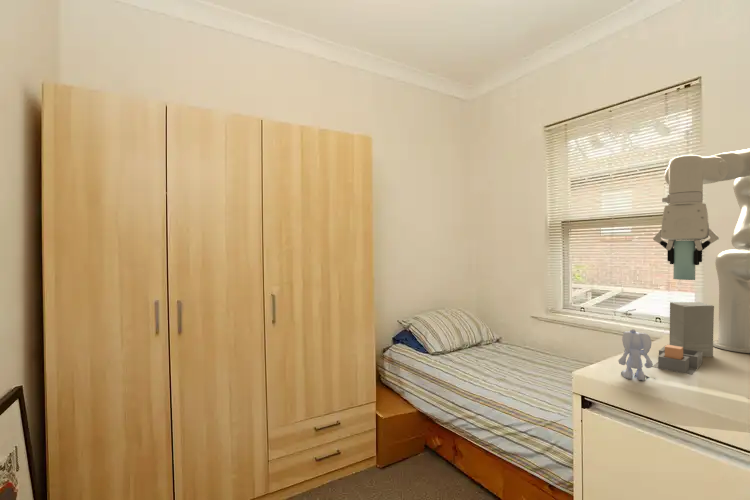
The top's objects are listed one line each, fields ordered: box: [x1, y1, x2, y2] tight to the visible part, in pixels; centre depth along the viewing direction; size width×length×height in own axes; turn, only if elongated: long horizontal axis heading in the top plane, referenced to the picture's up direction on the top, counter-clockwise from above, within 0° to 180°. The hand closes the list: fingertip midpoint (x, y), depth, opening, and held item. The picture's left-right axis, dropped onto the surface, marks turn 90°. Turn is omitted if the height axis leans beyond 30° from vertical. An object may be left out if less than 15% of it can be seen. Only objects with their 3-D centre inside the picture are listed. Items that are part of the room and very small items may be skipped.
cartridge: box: [672, 240, 696, 281], centre depth 107 cm, size 5×5×11 cm
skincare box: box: [669, 301, 715, 358], centre depth 111 cm, size 8×7×16 cm
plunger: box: [664, 344, 683, 360], centre depth 96 cm, size 3×3×5 cm
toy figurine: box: [617, 328, 654, 382], centre depth 92 cm, size 7×6×12 cm
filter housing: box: [651, 345, 703, 376], centre depth 100 cm, size 15×8×4 cm, turn 132°
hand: (684, 263), depth 107 cm, fingers closed on cartridge, 4 cm apart
